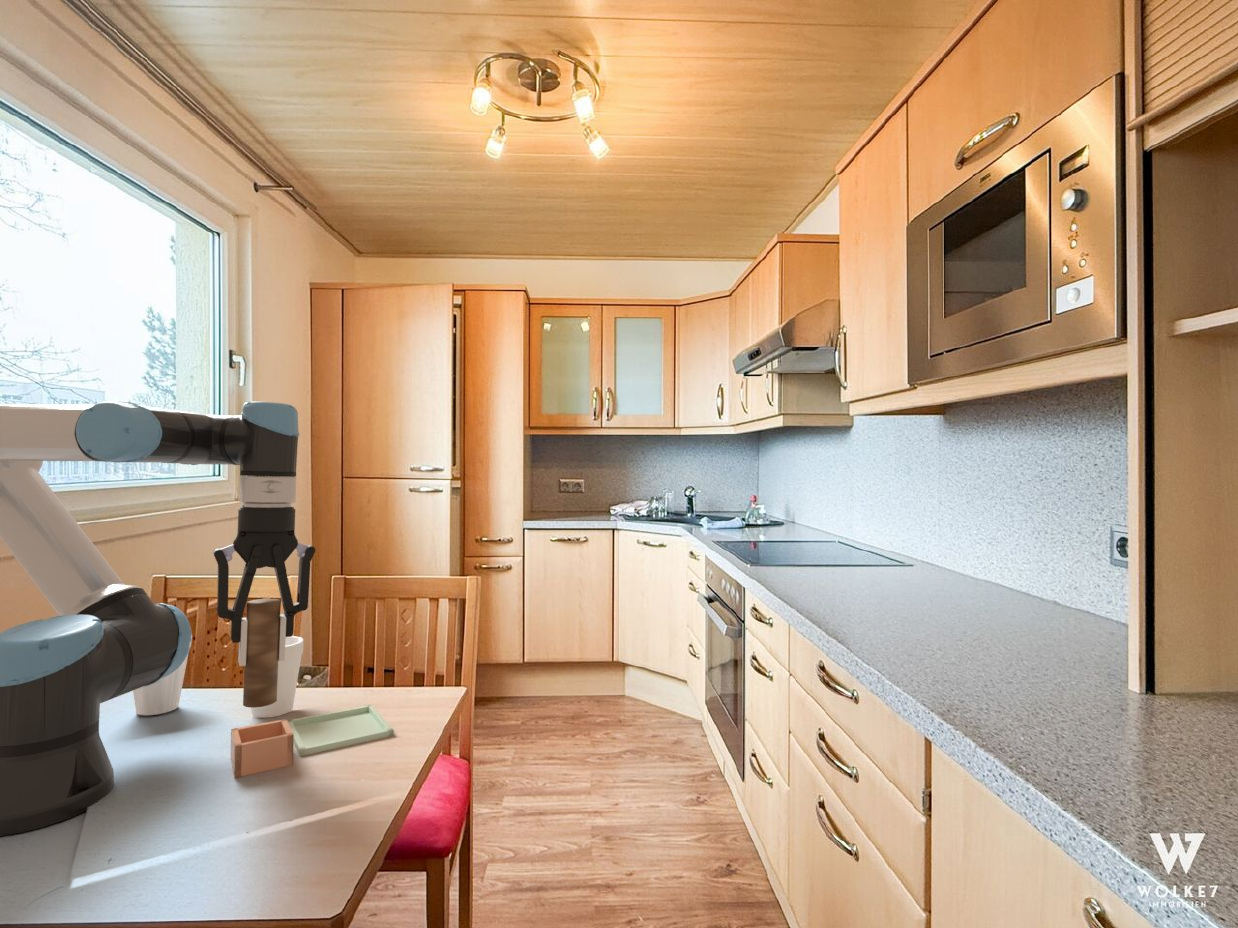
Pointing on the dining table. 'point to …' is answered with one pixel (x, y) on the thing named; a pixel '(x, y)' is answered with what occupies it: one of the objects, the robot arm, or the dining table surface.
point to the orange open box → (261, 748)
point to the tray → (338, 729)
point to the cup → (161, 693)
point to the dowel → (261, 653)
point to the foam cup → (284, 681)
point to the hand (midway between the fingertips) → (261, 660)
